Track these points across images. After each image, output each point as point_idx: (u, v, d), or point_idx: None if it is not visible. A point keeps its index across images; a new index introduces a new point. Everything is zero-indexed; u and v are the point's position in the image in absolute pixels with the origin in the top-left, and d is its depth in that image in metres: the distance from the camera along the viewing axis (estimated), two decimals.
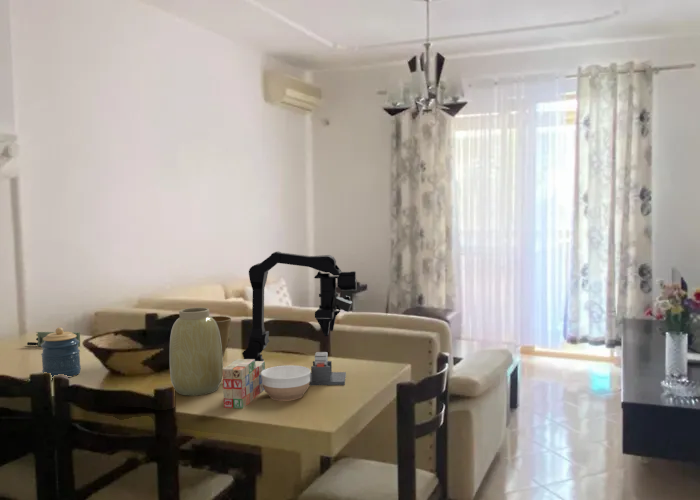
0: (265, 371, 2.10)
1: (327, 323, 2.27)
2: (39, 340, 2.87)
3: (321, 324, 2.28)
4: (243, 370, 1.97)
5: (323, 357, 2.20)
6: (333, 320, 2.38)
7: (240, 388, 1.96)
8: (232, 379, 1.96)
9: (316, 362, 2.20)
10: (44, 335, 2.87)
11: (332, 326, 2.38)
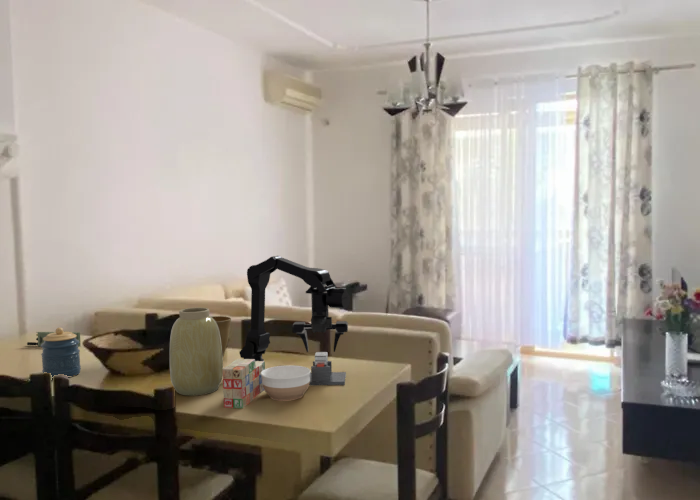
0: (265, 371, 2.10)
1: None
2: (39, 340, 2.88)
3: None
4: (243, 370, 1.97)
5: (323, 357, 2.20)
6: (334, 341, 2.21)
7: (240, 388, 1.96)
8: (232, 379, 1.96)
9: (316, 362, 2.20)
10: (44, 335, 2.87)
11: (334, 346, 2.22)
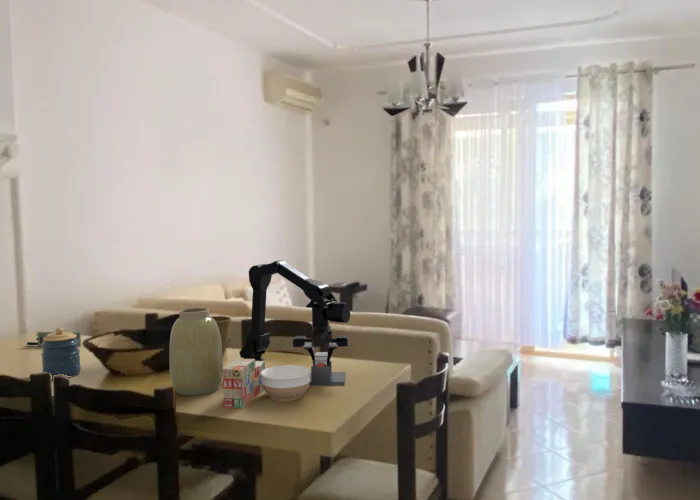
0: (265, 371, 2.10)
1: None
2: (39, 340, 2.88)
3: None
4: (243, 370, 1.97)
5: (323, 357, 2.20)
6: None
7: (240, 388, 1.96)
8: (232, 379, 1.96)
9: (316, 362, 2.20)
10: (44, 335, 2.87)
11: (327, 361, 2.22)
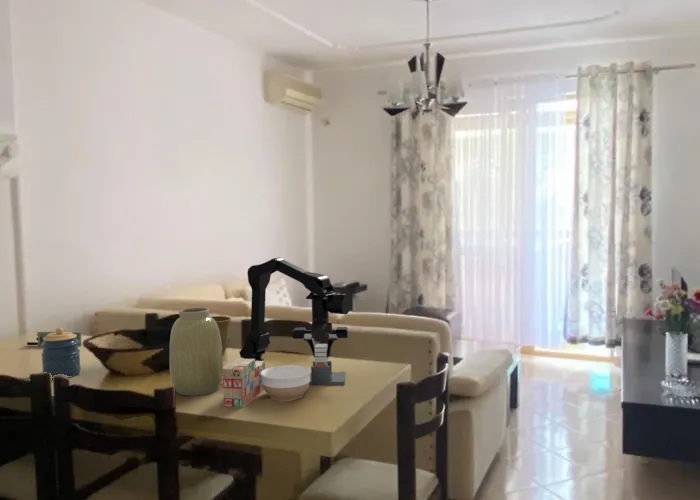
0: (265, 371, 2.10)
1: None
2: (39, 340, 2.88)
3: None
4: (243, 370, 1.97)
5: (323, 349, 2.20)
6: None
7: (240, 388, 1.96)
8: (232, 379, 1.96)
9: (316, 354, 2.20)
10: (45, 335, 2.87)
11: (327, 352, 2.22)
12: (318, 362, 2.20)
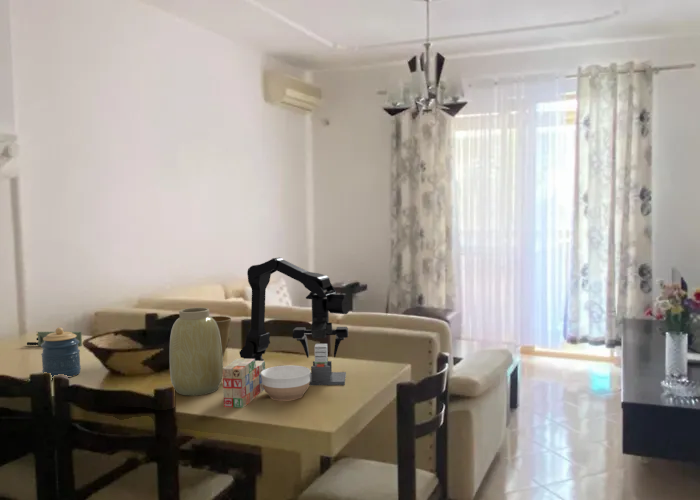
0: (265, 371, 2.10)
1: None
2: (39, 340, 2.88)
3: None
4: (243, 369, 1.97)
5: (323, 348, 2.20)
6: None
7: (240, 387, 1.96)
8: (232, 378, 1.97)
9: (316, 353, 2.20)
10: (45, 335, 2.87)
11: (334, 352, 2.22)
12: (318, 362, 2.20)
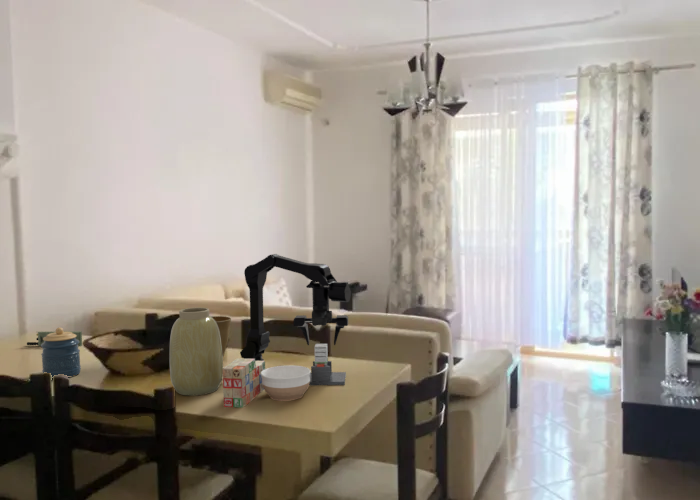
0: (265, 371, 2.10)
1: None
2: (40, 340, 2.88)
3: None
4: (243, 369, 1.97)
5: (323, 348, 2.20)
6: None
7: (240, 387, 1.96)
8: (232, 378, 1.97)
9: (316, 353, 2.20)
10: (45, 335, 2.88)
11: (334, 340, 2.25)
12: (318, 362, 2.20)
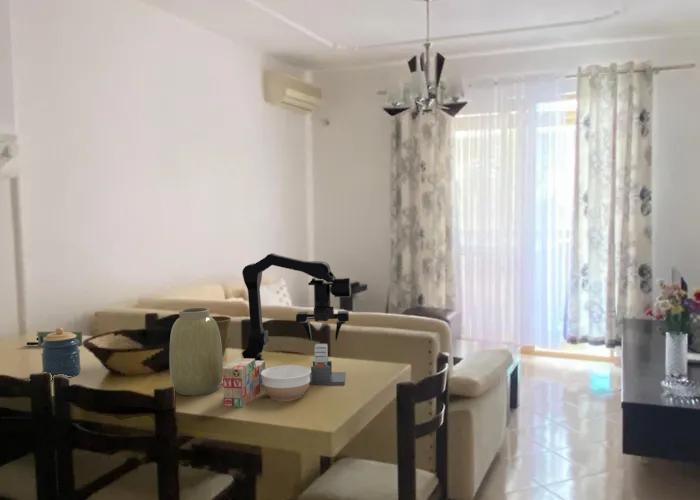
0: (265, 371, 2.10)
1: None
2: (40, 340, 2.88)
3: None
4: (243, 369, 1.97)
5: (323, 348, 2.20)
6: (336, 329, 2.32)
7: (240, 387, 1.97)
8: (232, 378, 1.97)
9: (316, 353, 2.20)
10: (45, 335, 2.88)
11: (335, 335, 2.32)
12: (318, 362, 2.20)
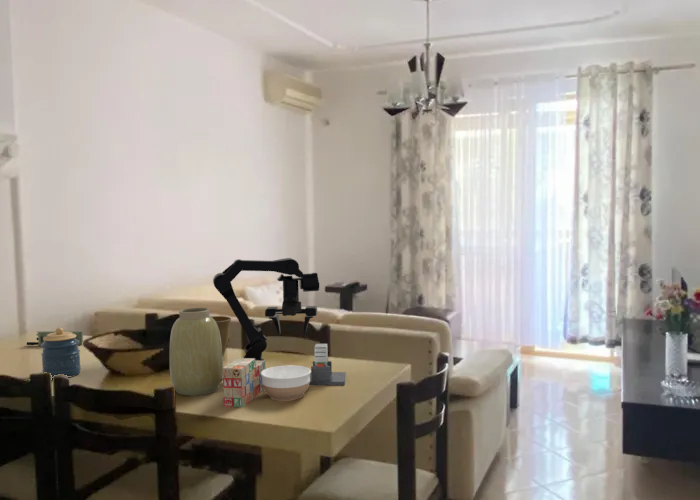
0: (265, 371, 2.10)
1: None
2: (40, 340, 2.88)
3: None
4: (243, 369, 1.98)
5: (323, 348, 2.20)
6: (304, 324, 2.38)
7: (240, 387, 1.97)
8: (232, 378, 1.97)
9: (316, 353, 2.20)
10: (45, 334, 2.88)
11: (304, 329, 2.39)
12: (318, 362, 2.20)
